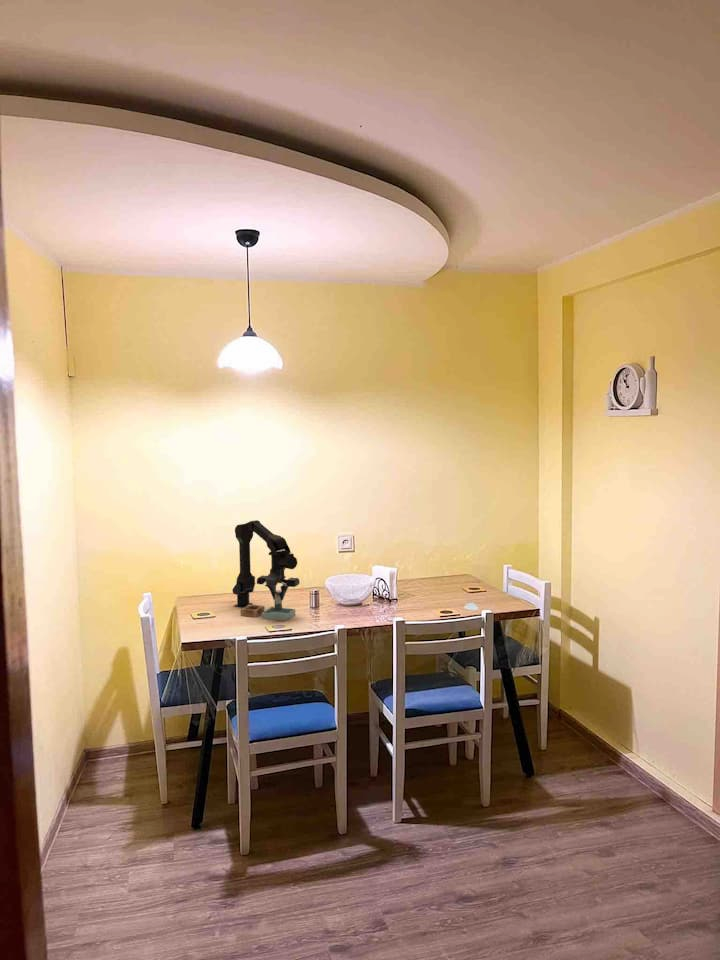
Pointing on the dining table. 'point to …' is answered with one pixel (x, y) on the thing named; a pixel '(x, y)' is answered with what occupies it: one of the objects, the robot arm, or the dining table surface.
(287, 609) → the tray
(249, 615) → the socket block
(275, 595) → the pin
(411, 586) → the dining table surface
